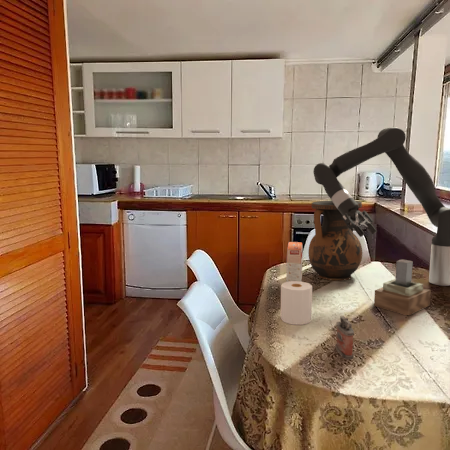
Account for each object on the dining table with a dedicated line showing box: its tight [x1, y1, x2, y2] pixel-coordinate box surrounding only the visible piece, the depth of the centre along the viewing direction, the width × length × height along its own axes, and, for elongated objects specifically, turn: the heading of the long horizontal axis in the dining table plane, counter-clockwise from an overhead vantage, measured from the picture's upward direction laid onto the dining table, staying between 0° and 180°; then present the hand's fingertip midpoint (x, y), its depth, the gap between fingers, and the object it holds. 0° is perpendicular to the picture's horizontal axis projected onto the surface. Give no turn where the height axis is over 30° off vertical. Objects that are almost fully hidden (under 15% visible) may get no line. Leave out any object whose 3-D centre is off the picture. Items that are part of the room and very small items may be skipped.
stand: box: [373, 278, 432, 316], centre depth 149 cm, size 16×13×8 cm
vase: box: [307, 199, 363, 282], centre depth 187 cm, size 24×24×35 cm
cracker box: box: [285, 241, 303, 282], centre depth 160 cm, size 14×6×21 cm, turn 168°
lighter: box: [335, 315, 355, 360], centre depth 113 cm, size 8×3×10 cm, turn 5°
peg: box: [395, 258, 414, 288], centre depth 148 cm, size 4×4×11 cm
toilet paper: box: [280, 281, 313, 326], centre depth 137 cm, size 10×10×12 cm
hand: (369, 234), depth 157 cm, fingers open, 8 cm apart
